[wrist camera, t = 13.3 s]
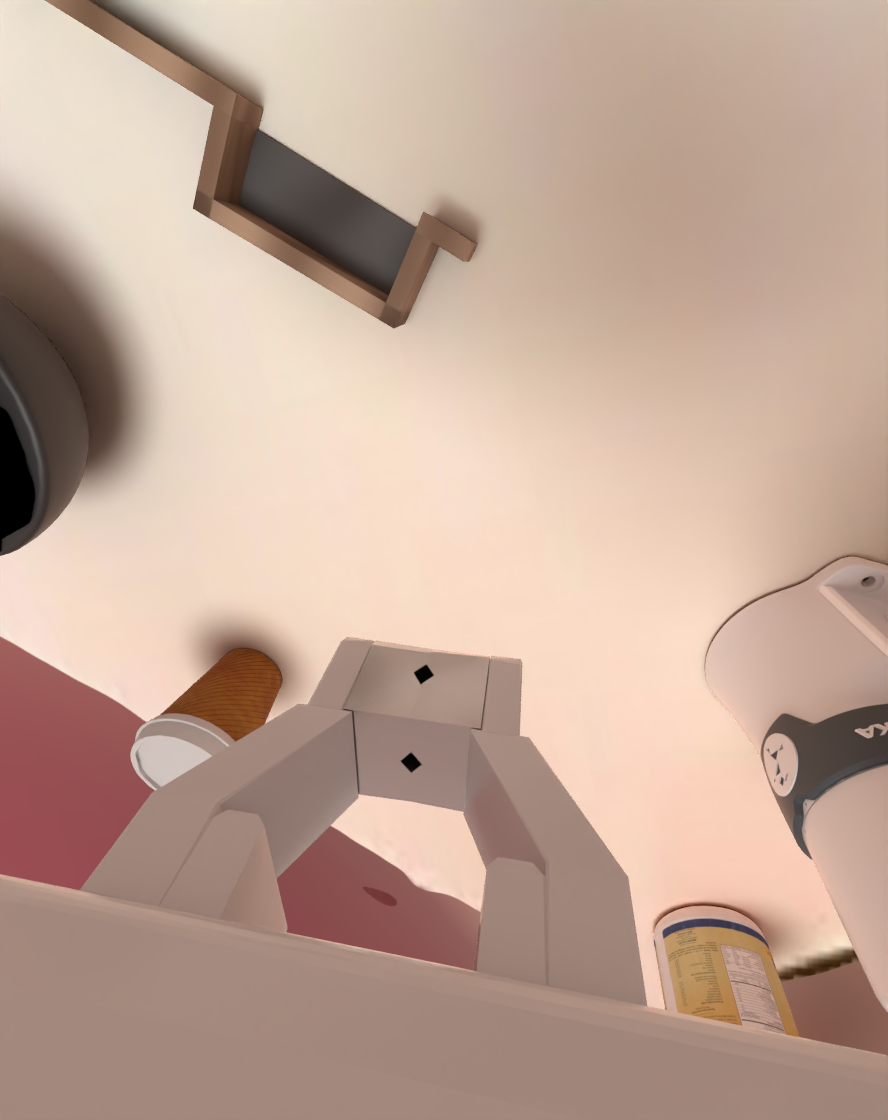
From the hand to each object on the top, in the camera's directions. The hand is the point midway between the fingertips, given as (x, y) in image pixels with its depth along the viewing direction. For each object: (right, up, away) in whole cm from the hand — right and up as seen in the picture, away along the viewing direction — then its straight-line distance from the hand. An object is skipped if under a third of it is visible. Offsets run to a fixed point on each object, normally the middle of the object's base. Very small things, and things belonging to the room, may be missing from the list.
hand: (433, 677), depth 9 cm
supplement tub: (+31, -42, +52) cm, 74 cm away
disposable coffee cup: (-19, -9, +43) cm, 48 cm away
